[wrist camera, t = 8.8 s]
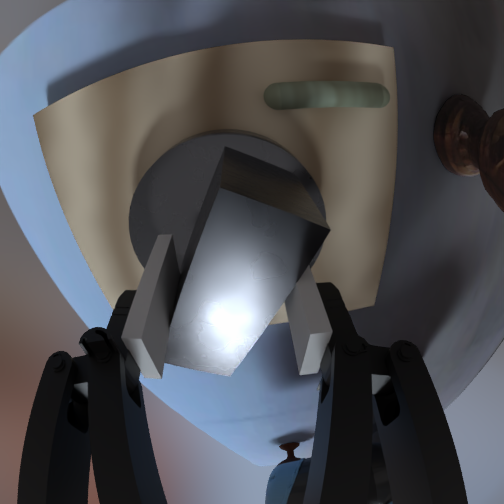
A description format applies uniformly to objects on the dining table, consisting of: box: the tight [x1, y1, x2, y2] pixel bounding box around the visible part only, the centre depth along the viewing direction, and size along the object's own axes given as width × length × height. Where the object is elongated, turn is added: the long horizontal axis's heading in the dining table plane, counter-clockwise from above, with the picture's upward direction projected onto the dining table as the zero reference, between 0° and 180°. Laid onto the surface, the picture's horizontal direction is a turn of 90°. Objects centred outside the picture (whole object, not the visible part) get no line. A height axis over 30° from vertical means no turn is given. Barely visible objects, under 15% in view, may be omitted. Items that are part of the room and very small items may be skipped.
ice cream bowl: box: [276, 443, 301, 467], centre depth 52 cm, size 11×11×15 cm
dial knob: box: [129, 129, 331, 376], centre depth 15 cm, size 14×12×8 cm
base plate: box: [33, 39, 398, 325], centre depth 18 cm, size 24×22×4 cm
